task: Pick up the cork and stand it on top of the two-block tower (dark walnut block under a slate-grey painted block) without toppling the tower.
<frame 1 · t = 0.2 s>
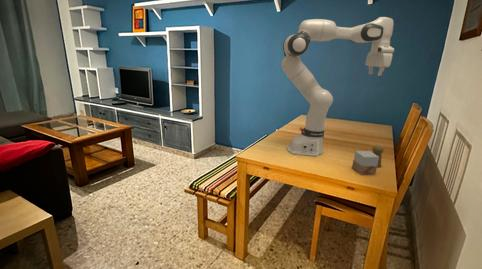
hand: (374, 74, 142), 47 cm above the table, fingers open, 8 cm apart
walnut block: (363, 171, 130), on the table, touching grey block
cork: (374, 165, 138), on the table
grey block: (365, 162, 128), point 5 cm above the table, touching walnut block
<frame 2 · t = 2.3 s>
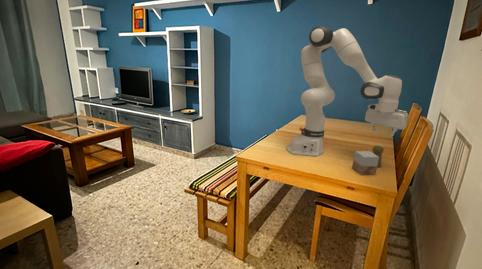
hand: (382, 133, 132), 19 cm above the table, fingers open, 8 cm apart
nothing on the table moved.
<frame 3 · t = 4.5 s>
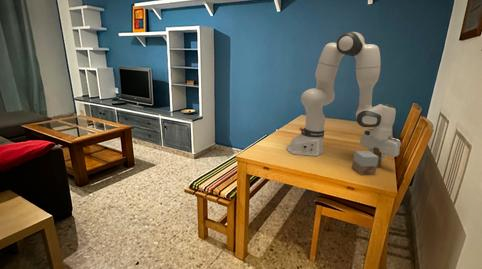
hand: (376, 158, 137), 4 cm above the table, fingers closed on cork, 5 cm apart
cork: (374, 165, 138), on the table, touching gripper
everything else where it was.
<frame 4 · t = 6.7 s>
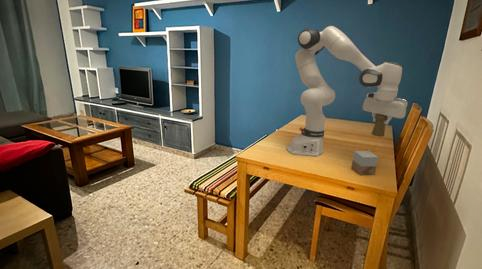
hand: (380, 122, 128), 25 cm above the table, fingers closed on cork, 4 cm apart
cork: (377, 135, 130), point 18 cm above the table, touching gripper
everything else where it was.
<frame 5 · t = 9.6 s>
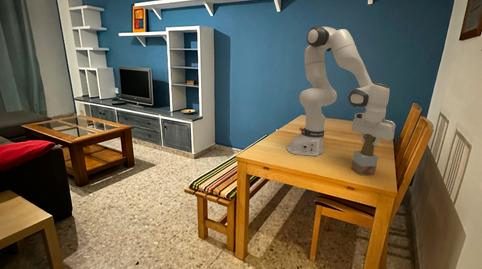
hand: (369, 143, 125), 15 cm above the table, fingers closed on cork, 4 cm apart
cork: (366, 154, 127), point 10 cm above the table, touching grey block, gripper
grey block: (364, 162, 128), point 5 cm above the table, touching cork, walnut block
everything else where it was.
when the fingers open (15 cm above the table, at t = 9.9 s): cork stays where it is, resting on grey block.
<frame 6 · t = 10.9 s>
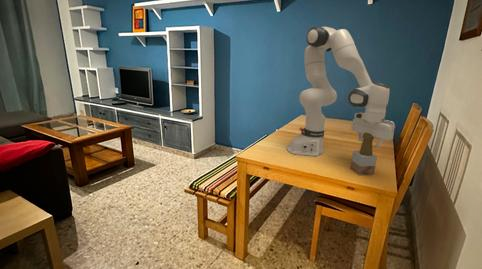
hand: (368, 143, 125), 15 cm above the table, fingers open, 8 cm apart
cork: (365, 153, 127), point 10 cm above the table, touching grey block
everything else where it was.
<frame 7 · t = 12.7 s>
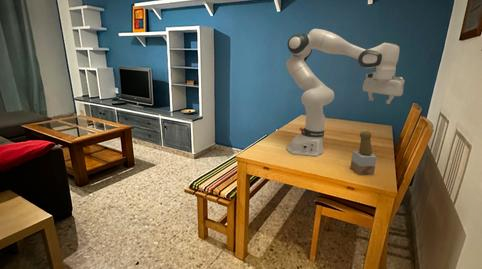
hand: (379, 102, 133), 34 cm above the table, fingers open, 8 cm apart
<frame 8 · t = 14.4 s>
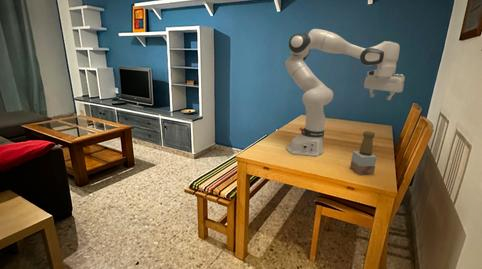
hand: (380, 98, 139), 35 cm above the table, fingers open, 8 cm apart
at the end: cork 0.3 cm off-centre on the grey block, point 5.7 cm above the grey block's base; cork tilted 17°; grey block tilted 0° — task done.
